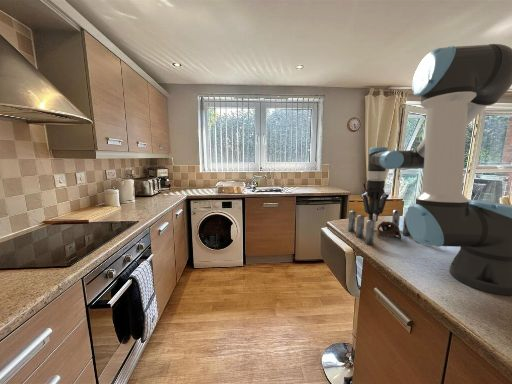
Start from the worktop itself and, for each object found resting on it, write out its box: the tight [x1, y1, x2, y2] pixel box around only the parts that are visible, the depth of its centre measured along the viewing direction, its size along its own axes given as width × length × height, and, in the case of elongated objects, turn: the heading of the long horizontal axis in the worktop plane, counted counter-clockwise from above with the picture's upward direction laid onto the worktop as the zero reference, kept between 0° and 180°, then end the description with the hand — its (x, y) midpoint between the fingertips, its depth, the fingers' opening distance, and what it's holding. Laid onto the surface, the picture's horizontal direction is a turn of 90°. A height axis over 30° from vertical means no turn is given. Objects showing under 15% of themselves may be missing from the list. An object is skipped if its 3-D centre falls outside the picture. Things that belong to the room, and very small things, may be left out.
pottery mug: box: [376, 220, 402, 240], centre depth 100 cm, size 12×10×8 cm
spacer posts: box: [347, 209, 419, 246], centre depth 100 cm, size 19×25×10 cm
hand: (372, 227), depth 109 cm, fingers closed
